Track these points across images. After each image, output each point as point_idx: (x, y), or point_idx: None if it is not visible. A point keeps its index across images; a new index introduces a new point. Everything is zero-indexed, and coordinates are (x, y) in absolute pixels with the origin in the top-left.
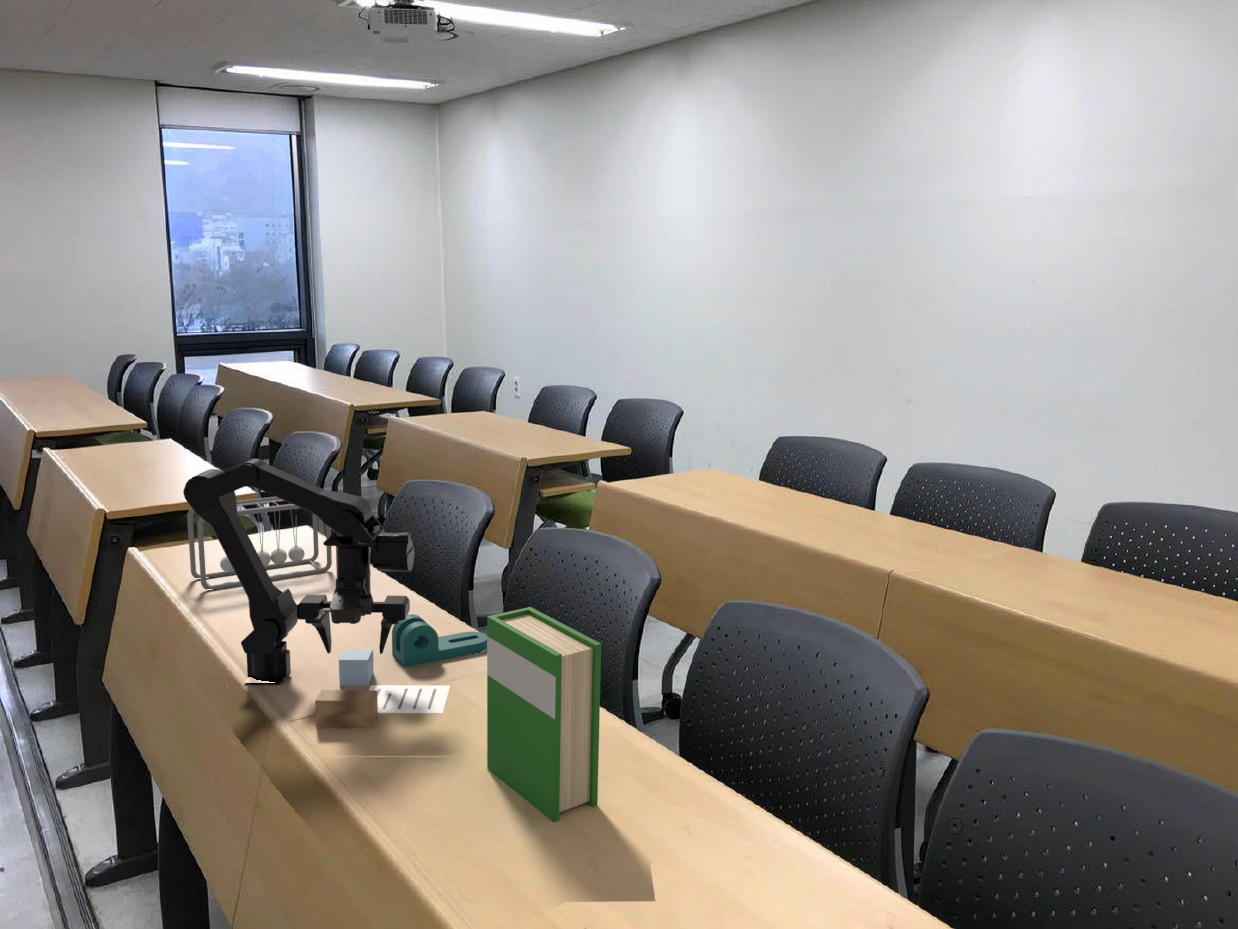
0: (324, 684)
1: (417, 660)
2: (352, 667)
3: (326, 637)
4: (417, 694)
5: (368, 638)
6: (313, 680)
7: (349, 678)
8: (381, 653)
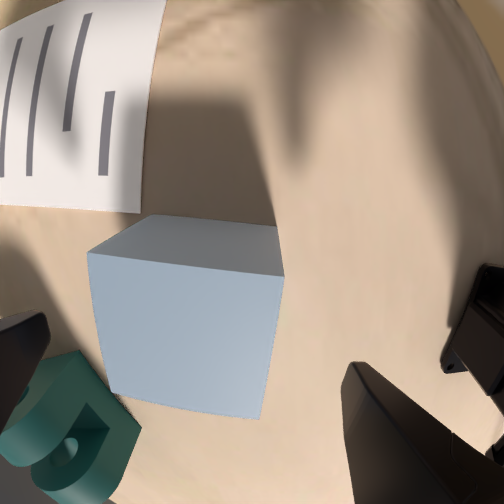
0: (343, 250)
1: (48, 365)
2: (196, 248)
3: (414, 441)
4: (5, 135)
5: (228, 493)
6: (384, 293)
7: (226, 229)
8: (35, 310)
